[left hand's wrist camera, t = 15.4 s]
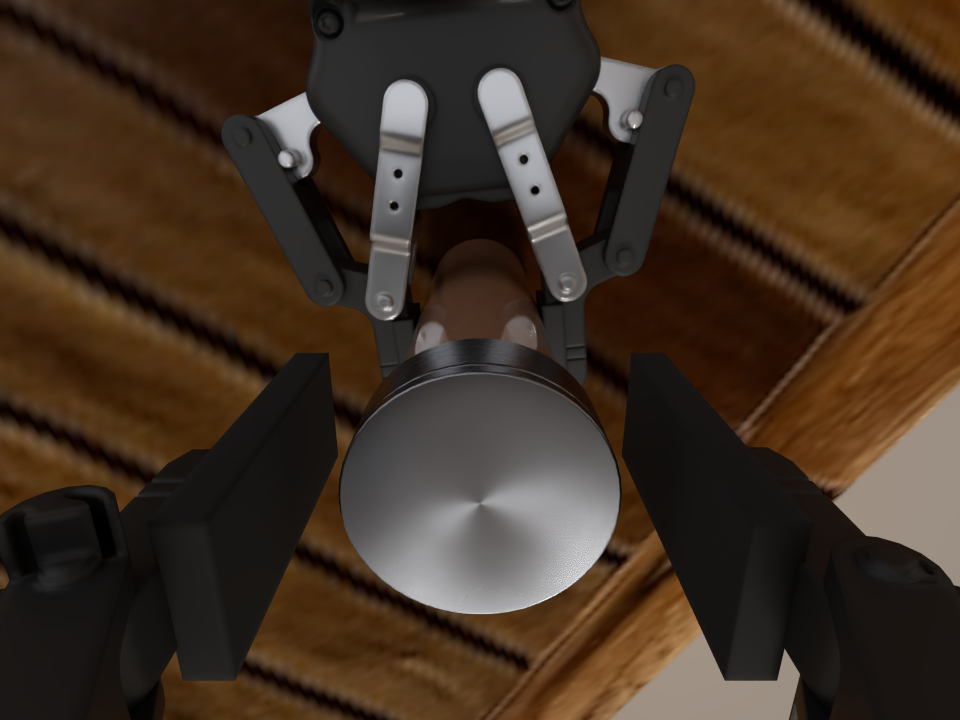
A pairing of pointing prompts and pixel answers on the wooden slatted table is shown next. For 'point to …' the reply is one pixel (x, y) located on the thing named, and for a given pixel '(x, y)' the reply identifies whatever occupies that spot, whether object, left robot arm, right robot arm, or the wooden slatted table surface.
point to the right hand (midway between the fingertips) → (489, 402)
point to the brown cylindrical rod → (479, 300)
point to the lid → (480, 479)
